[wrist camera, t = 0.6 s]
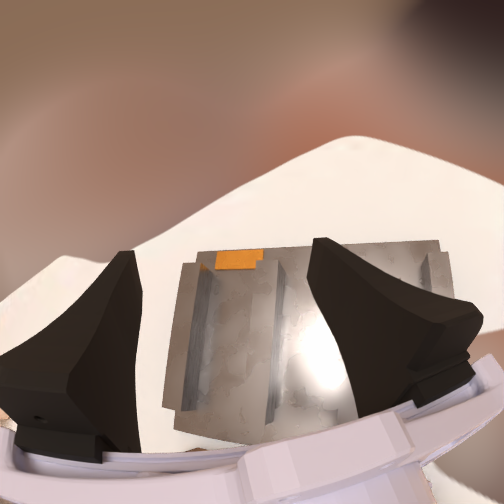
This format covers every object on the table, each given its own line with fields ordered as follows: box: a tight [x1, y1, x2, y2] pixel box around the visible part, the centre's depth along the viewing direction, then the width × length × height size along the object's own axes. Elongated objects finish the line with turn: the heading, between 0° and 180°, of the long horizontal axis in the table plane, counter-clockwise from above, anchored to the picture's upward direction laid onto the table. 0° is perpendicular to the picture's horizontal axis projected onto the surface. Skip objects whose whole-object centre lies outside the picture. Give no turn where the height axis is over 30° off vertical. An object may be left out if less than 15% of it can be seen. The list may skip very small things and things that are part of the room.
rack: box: [162, 240, 455, 445], centre depth 24 cm, size 19×25×3 cm
